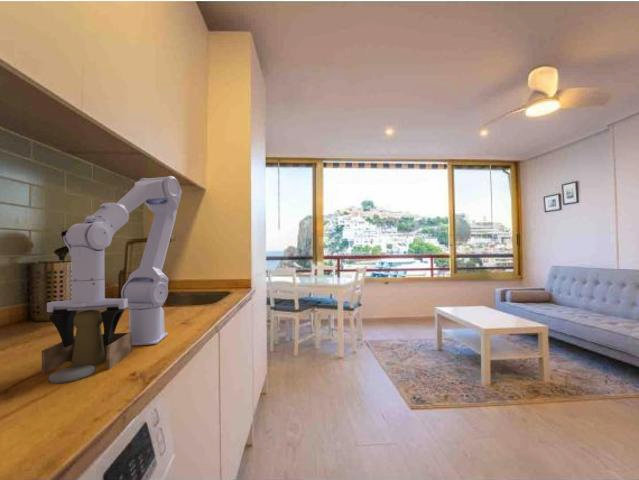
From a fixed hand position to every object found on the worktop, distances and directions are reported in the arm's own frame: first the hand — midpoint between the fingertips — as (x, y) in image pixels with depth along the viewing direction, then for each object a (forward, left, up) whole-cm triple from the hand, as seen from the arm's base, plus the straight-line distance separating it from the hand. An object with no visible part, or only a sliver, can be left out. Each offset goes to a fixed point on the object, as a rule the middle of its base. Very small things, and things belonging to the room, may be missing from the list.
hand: (88, 344), depth 67 cm
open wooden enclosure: (-1, 0, -4) cm, 4 cm away
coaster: (+6, +1, -4) cm, 8 cm away
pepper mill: (0, 0, -4) cm, 4 cm away
